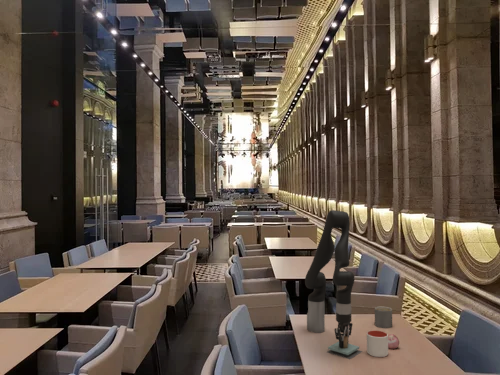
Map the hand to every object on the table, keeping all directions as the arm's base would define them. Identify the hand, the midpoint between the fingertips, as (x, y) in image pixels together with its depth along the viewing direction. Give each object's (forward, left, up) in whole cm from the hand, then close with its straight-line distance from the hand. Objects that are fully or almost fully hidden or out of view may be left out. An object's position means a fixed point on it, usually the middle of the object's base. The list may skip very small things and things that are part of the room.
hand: (343, 346), depth 202 cm
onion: (+15, +22, -3) cm, 26 cm away
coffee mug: (-4, +54, -3) cm, 54 cm away
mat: (0, 0, -3) cm, 3 cm away
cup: (+13, +9, -3) cm, 17 cm away
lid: (0, 0, -1) cm, 1 cm away
